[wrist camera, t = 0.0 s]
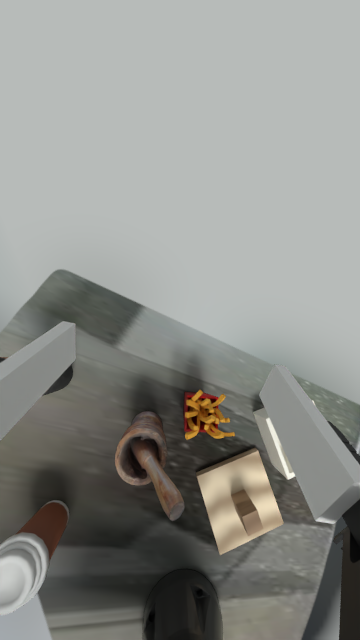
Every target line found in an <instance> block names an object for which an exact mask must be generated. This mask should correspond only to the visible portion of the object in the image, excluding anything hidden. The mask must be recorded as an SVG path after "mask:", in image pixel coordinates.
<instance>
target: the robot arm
mask: <svg viewBox="0 0 360 640" xmlns="http://www.w3.org/2000/svg"><path fill="white" fill-rule="evenodd" d="M75 360H76V342H75V323H70V322H65V321H62V322H61V323H59V324H58V325H56V326H55V327H53V328H52V329H50V330H49V331H47V332H46V333H45V334H43V335H42V336H40V337H39V338H37V339H36V340H34V341H33V342H31V343H30V344H28V345H27V346H25V347H24V348H22V349H21V350H19V351H18V352H16V353H15V354H13V355H12V356H10V357H9V358H7V359H6V360H1V359H0V440H1V439H2V438H3V437H4V436H5V435H6V434H7V433H8V432H9V431H10V430H11V429H12V428H13V426H14V425H15V424H16V423H17V422H18V421H19V420H20V419H21V418H22V417H23V416H24V415H25V414H26V412H27V411H28V410H29V409H30V408H31V407H32V406H33V405H34V404H35V403H36V402H37V401H38V399H39V398H40V397H41V396H42V395H43V394H44V393H45V392H46V391H47V390H48V389H49V388H50V387H51V385H52V384H53V383H54V382H55V381H56V380H57V379H58V378H59V377H60V376H61V375H62V374H63V372H64V371H65V370H66V369H67V368H68V367H69V366H70V365H71V364H72V363H73V362H74V361H75ZM259 396H260V398H261V400H262V403H263V405H264V407H265V409H266V412H267V414H268V416H269V418H270V420H271V423H272V425H273V427H274V429H275V432H276V434H277V436H278V438H279V441H280V443H281V445H282V447H283V449H284V452H285V454H286V456H287V458H288V461H289V463H290V465H291V467H292V470H293V472H294V474H295V476H296V479H297V481H298V483H299V485H300V487H301V490H302V492H303V494H304V496H305V499H306V501H307V503H308V505H309V508H310V510H311V512H312V514H313V517H314V519H315V521H320V522H326V523H332V524H334V523H335V522H336V521H337V520H338V519H339V518H340V517H343V519H344V520H345V522H346V524H347V527H346V528H345V529H343V530H342V531H341V532H340V533H339V534H338V535H336V536H335V538H334V540H333V542H334V543H335V544H337V543H339V542H340V541H341V540H343V547H342V548H341V549H342V550H343V559H342V581H341V582H342V583H341V606H340V607H341V608H340V632H339V633H340V634H339V640H360V456H359V454H357V453H356V450H355V449H354V448H353V447H352V445H350V444H349V441H348V440H347V439H346V438H345V436H344V435H343V434H342V433H341V431H340V430H338V429H337V428H336V427H335V426H334V425H333V424H332V423H331V422H329V421H326V419H325V418H324V417H323V415H322V414H321V413H320V411H319V410H318V409H317V407H316V406H315V405H314V403H313V402H312V401H311V399H310V398H309V397H308V395H307V394H306V393H305V391H304V390H303V389H302V387H301V386H300V385H299V383H298V382H297V381H296V380H295V378H294V377H293V376H292V374H291V373H290V372H289V370H288V369H287V368H286V366H282V365H277V364H274V366H273V368H272V370H271V372H270V374H269V376H268V378H267V380H266V382H265V384H264V386H263V388H262V390H261V392H260V394H259ZM143 640H223V623H222V616H221V611H220V607H219V602H218V598H217V595H216V592H215V590H214V588H213V586H212V585H211V583H210V582H209V581H208V580H207V579H206V578H205V577H204V576H203V575H202V574H200V573H198V572H196V571H193V570H189V569H181V570H176V571H173V572H171V573H169V574H168V575H166V576H165V577H163V578H162V579H161V580H160V581H159V582H158V583H157V585H156V586H155V587H154V589H153V590H152V592H151V594H150V596H149V598H148V601H147V604H146V607H145V612H144V621H143Z"/></svg>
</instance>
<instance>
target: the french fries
mask: <svg viewBox="0 0 360 640" xmlns="http://www.w3.org/2000/svg"><path fill="white" fill-rule="evenodd" d="M225 397H226V396H225V395H224V394H221V396H220V397H219V399H218V397H216V396H212V395H209V394H206V393H203V392H202V391H201V390H199V391H198V392H185V394H184V411H183V415H184V431H188V433H186V434H185V438H186V439H187V440H188V439H190V438H192V437H194V436H196V435H197V433H198V432H207V433H208V434H209V435H211V436H212V437H214V438H224V436H235V434H234V432H232V433H224V432H222V431H220V430H218V424H219V421H220V422H225V423H226V422H230V419H229V418H224V417H223V415H222V413H221V411H220V410H219V409H218V405H219V404H220V403H221V402H222V401H223V400H224V398H225Z"/></svg>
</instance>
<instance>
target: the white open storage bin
mask: <svg viewBox="0 0 360 640" xmlns="http://www.w3.org/2000/svg"><path fill="white" fill-rule="evenodd" d="M311 401H312V402H313V403H314V401H313V400H311ZM314 405H315V404H314ZM253 414H254V416H255V419H256V422H257V425H258V427H259V430H260V433H261V436H262V438H263V441H264V444H265V447H266V450H267V452H268V455H269V458H270V461H271V463H272V465H273V466H274V467H275V468H276V469H277V470H279V471H280V472H281V473H282V474H283V475H284V476H285V477H286V478H287V479H290V478H292V477H295V474H294V472H293V470H292V467H291V465H290V463H289V461H288V458H287V456H286V454H285V452H284V449H283V447H282V445H281V443H280V441H279V438H278V436H277V434H276V432H275V429H274V427H273V425H272V423H271V420H270V418H269V416H268V414H267V412H266V409H265V407H264V408H262V409H259V410H257V411H254V412H253Z"/></svg>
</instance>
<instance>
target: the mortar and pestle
mask: <svg viewBox="0 0 360 640" xmlns="http://www.w3.org/2000/svg"><path fill="white" fill-rule="evenodd" d="M166 461H167V445H166V438H165V435H164V432H163V425H162V421H161V419H160V417H159V416H158V415H157V414H156V413H154V412H149V411H145V412H141V413H140V414H138V415H136V417H135V418H134V419H133V421H132V424H131V426H130V427H129V428H128V429H127V430H126V431H125V433H124V435H123V436H122V438H121V440H120V442H119V444H118V446H117V449H116V454H115V466H116V469H117V471H118V474H119V475H120V476H121V478H122V479H123V480H124V481H125V482H127V483H130V484H131V485H136V486H139V485H145V484H148V483H150V482H151V481H153V484H154V487H155V490H156V492H157V495H158V498H159V500H160V503H161V505H162V507H163V510H164V511H165V513H166V514H167V516H168V517H169V519H170V520H172V521H173V520H176V519H178V518H179V517H180V516H181V514H182V512H183V510H184V501H183V498H182V496H181V494H180V492H179V490H178V489H177V488H176V486H175V485H174V483H173V482H172V481H171V480H170V478H169V477H168V476H167V475H166V473H165V472H164V470H163V469H164V467H165V465H166Z"/></svg>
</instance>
